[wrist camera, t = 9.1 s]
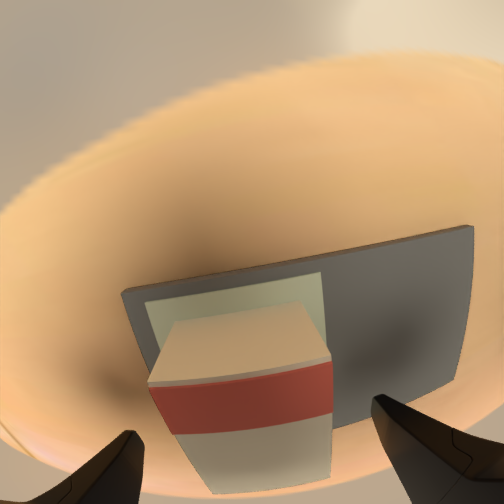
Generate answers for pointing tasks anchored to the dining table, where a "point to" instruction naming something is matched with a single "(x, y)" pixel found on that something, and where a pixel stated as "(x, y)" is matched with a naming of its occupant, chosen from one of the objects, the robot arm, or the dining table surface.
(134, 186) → the dining table surface
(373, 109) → the dining table surface
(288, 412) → the card box
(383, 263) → the mat
